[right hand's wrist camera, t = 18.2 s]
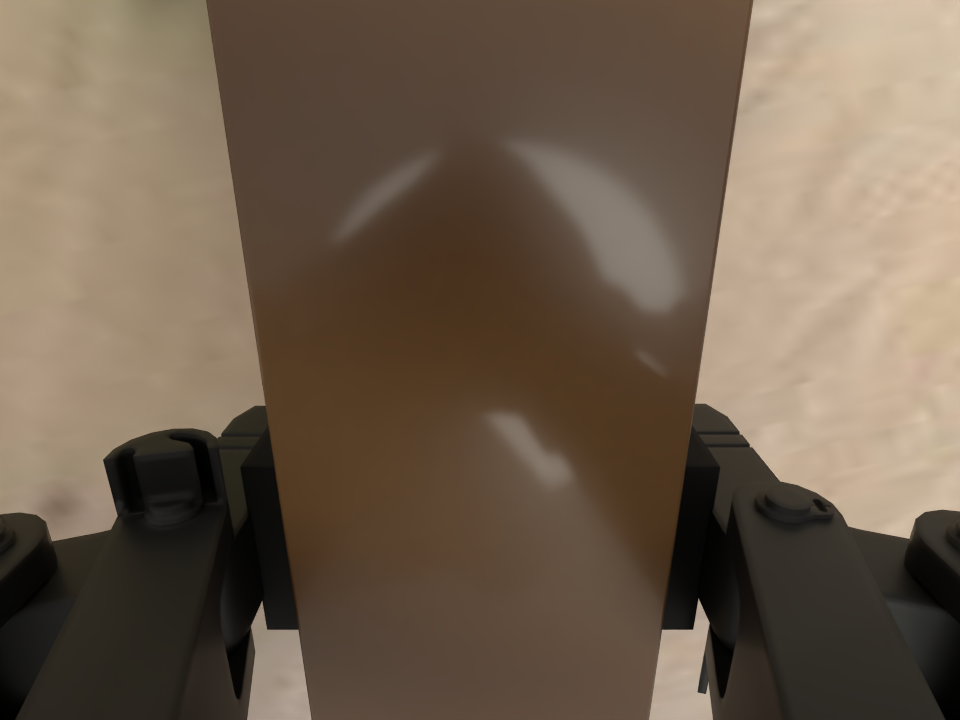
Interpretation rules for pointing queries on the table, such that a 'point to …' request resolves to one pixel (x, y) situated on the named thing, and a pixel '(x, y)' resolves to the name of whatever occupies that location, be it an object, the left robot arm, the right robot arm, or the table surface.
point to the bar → (480, 331)
